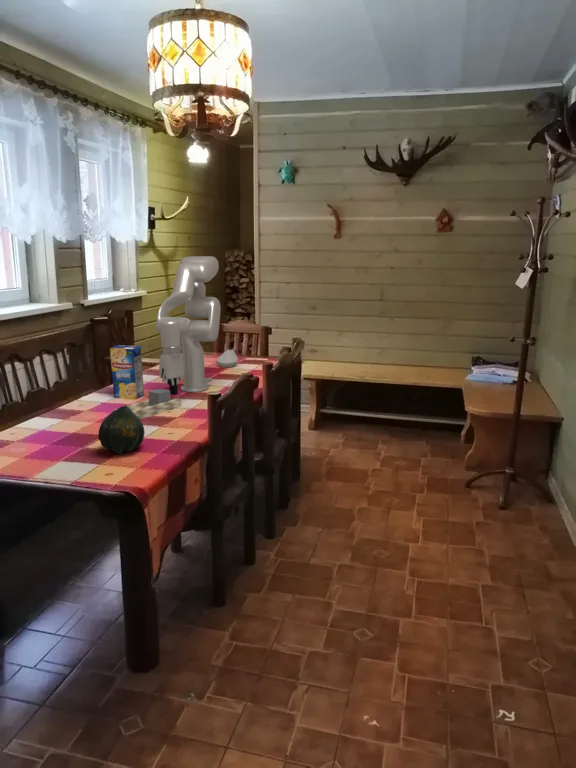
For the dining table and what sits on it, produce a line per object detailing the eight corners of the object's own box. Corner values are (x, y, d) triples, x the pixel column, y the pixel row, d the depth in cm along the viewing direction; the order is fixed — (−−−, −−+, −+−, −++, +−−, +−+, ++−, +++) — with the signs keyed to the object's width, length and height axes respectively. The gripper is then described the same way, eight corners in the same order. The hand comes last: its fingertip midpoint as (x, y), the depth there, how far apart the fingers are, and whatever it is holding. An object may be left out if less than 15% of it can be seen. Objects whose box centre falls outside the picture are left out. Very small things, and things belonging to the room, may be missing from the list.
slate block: (160, 402, 249) (160, 388, 248) (170, 404, 245) (170, 390, 244) (149, 405, 244) (148, 391, 243) (159, 408, 241) (158, 393, 239)
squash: (92, 444, 188) (122, 405, 190) (87, 432, 202) (115, 396, 203) (129, 468, 194) (158, 430, 196) (122, 454, 208) (149, 419, 209)
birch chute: (165, 403, 253) (165, 395, 252) (181, 406, 248) (180, 398, 247) (114, 418, 233) (113, 409, 232) (129, 422, 228) (129, 413, 227)
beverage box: (136, 399, 260) (133, 349, 255) (113, 397, 263) (109, 348, 257) (144, 395, 266) (140, 346, 261) (121, 393, 269) (118, 345, 264)
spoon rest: (236, 369, 317) (236, 355, 316) (214, 369, 318) (213, 355, 316) (242, 359, 340) (241, 347, 339) (221, 360, 341) (220, 347, 339)
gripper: (178, 346, 254) (180, 389, 258) (150, 352, 242) (153, 396, 246) (191, 348, 249) (193, 391, 253) (163, 354, 238) (166, 399, 242)
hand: (173, 394), depth 250 cm, fingers closed
